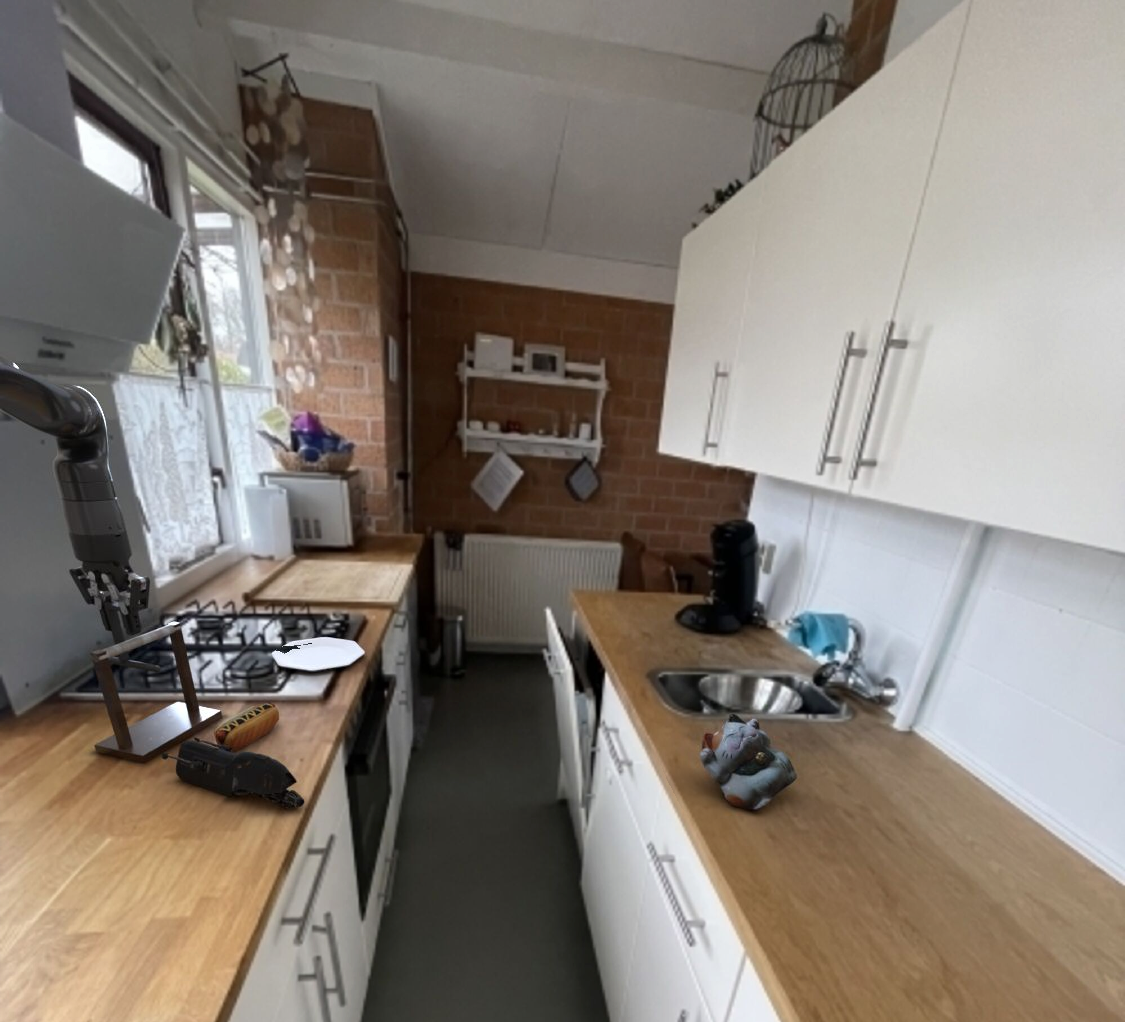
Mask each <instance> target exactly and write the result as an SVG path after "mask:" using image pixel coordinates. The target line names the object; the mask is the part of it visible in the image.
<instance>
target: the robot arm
mask: <svg viewBox="0 0 1125 1022" xmlns="http://www.w3.org/2000/svg"><path fill="white" fill-rule="evenodd" d="M0 411H1V412H2V413H4V414H5V415H8V416H10V417H11V418H13V419H15V420H16V421H19V422H20V423H22V424H23V425H25V426H27V427H30V428H32V429H33V430H36V431H37V432H40V433H43V434H45V435H48V436H51V437H54V438H55V439H54V440H55V444H56V450H57V454H56V457H55V458H54V459H53V461H52V471H53V475H54V479H55V482H56V483H55V484H56V486H57V490H58V493H59V497H60V501H61V509H62V510H61V511H62V514H63V515H62V516H63V519H64V523H65V526H66V530H67V534H68V537H69V540H70V544H71V548H72V551H73V555H74V558H75V559H77V561H80V562H81V566H79V567H74V568H70V569H69V570H68V573H69V574H70V576H71V578H72V580H73V582H74V584H75V585H76V587H77V589H78V590H79V592H80V594H81V596H82V598H83V599H84V601H85V603H86V604H87V605H90V606H91V605H93V606H94V607H95V608H96V609H97V610H98V611H99V614H100V618H101V622H102V626H104V629H105V631H108V632H111V628H110V625H109V622H108V618H107V615H106V611H105V607H104V604H106V603H110V602H116V603H118V604H119V607H120V609H121V611H122V613H123V614H122V617H123V621H124V625H125V628H124V629H125V632H126V634H127V636H136V635H139V634H140V633H141V632H142V628H143V627H142V624H141V623H142V622H141V619H140V614H139V612H140V611H143V610H146V609H149V602H150V601H149V600H150V590H151V589H150V588H151V579H150V577H148V576H147V575H145V576H140V575H138V574H136V573H135V572H134V569H133V567H132V566H131V564H130V559H131V557H132V556H133V551H132V546H131V542H130V539H129V535H128V531H127V526H126V522H125V518H124V514H123V510H122V508H121V505H120V503H119V500H118V497H117V494H116V489H115V485H114V481H113V476H112V473H111V470H110V467H109V466H110V465H109V444H108V443H109V442H108V431H107V425H106V419H105V416H104V413H103V410H102V408H101V406H100V404H99V402H98V400H97V398H96V397H94V396H93V395H92V394H91V392H89V391H88V390H87V389H85V388H83V387H81V386H78V385H75V384H71V383H54V382H51V381H48V380H45V379H43V378H41V377H38V376H36V375H34V374H32V373H29V372H27V371H25V370H23V369H21V368H19V367H18V365H16V364H15V362H13V361H12V360H11V359H9V358H7V357H4V356H3V355H1V354H0ZM89 589H90V592H89ZM123 592H125V593H123ZM121 593H122V594H121ZM126 600H128V604H127V601H126ZM127 605H129V606H127Z"/></svg>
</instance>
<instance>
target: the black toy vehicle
mask: <svg viewBox="0 0 1125 1022" xmlns="http://www.w3.org/2000/svg"><path fill="white" fill-rule="evenodd" d="M168 758H169V759H173V760H176V763H175V764H176V765H175V774H176V776H177V778H179V779H180V780H181V781H185V782H187V783H190V784H193V785H196V786H199V787H202V788H204V789H207V790H211V791H214V792H217V793H219V794H222V795H225V796H228V797H231V798H233V797H235V796H238V795H239V796H245V795H249V794H252V796H254V797H256V798H260V799H264V800H267V801H268V802H270V803H272V804H276V805H279V806H283V807H284V809H295V808H300V807H303V806H304V804H305V799H304V798H303V797H302V796H301V795H300V794H299V792H297V791H296V790H294V789H291V790H289V788H290V787H291V786H294V785H295V784H297V783H298V781H297V779H296V777H295V776H294V774H292V772H291V771H290V770H289V769H288V767H287V766H285V765H284V764H283V763H282V762H281V761H279V760H277V759H275V758H272V757H271V756H269V755H265V754H262V753H259V752H258V753H255V752H252V751H241V752H238V753H234V752H233V751H232V749H231V748H230V747H228V746H225V745H219V744H218V745H217V743H214V742H212V741H208V740H205V739H202V738H199V737H197V736H194V737H193V740H189V739H188V740H184V741H182V742H181V744H180V747H179V748H178V754H177V756H175V755H172V754H169V753H167V752H163V753H161V759H162V760H164V761H166V760H167V759H168Z"/></svg>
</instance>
